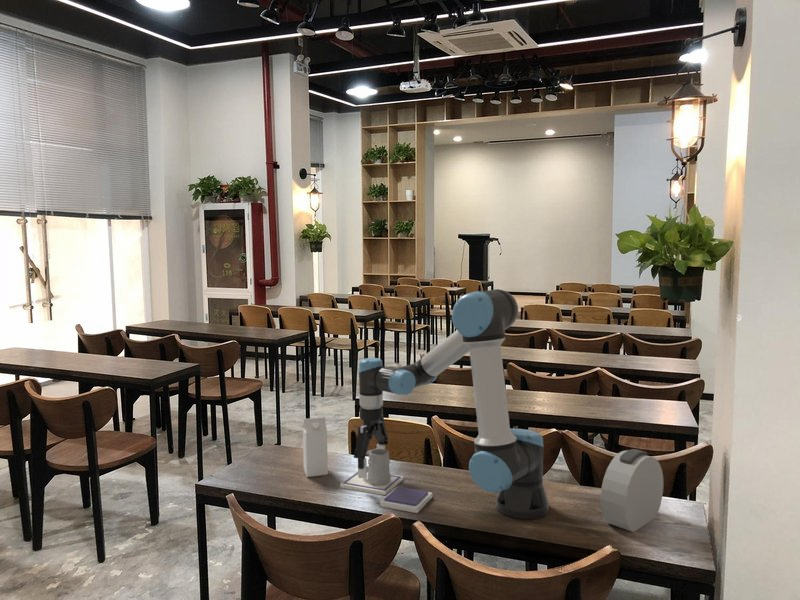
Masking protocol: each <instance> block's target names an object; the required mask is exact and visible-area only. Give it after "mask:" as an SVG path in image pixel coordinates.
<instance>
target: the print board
mask: <svg viewBox="0 0 800 600" xmlns="http://www.w3.org/2000/svg"><path fill="white" fill-rule="evenodd" d="M368 472H369V471H367V475H368ZM390 474H391V473H390ZM403 480H404V476H402V475H396V474H391V478H390V482H389V483H388V484H386V485H374V484H373V485H372V484H370V483H369V482H368V478H366V479H363V478H358V471H356V472H354V473H353V474H352V475H351V476H349V477H348V478H346V479H345V480H344V481H343V482H341V483H340V484H339V488H340V489H342V488H343V489H346V490H347V489H348V490H354V491H360V492H365V493H371V494H376V495H383V496H387V495H388V494H389V493H390V492H391V491H392V490H393V489H394V488H396V487H397V486H398V485H399V484H400V483H401V482H402V481H403Z"/></svg>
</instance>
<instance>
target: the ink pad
mask: <svg viewBox="0 0 800 600" xmlns="http://www.w3.org/2000/svg"><path fill="white" fill-rule="evenodd" d="M432 498H433V492H430V491H427V490H421V489H415V488H408V487H403V486H395V487H394V488H393V489H392V490H391V491H389V492H388V493H387V494H386V495H384V497H383V498H382V499H381V500H380V501H379V507H382V508H387V509H392V510H396V511H397V510H398V511H403V512H409V513H414V514H418V513H419V512H420V511H421V510H422V509H423V508H424V507H425V506H426V505H427V504H426V503H428V502H430V500H432Z"/></svg>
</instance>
